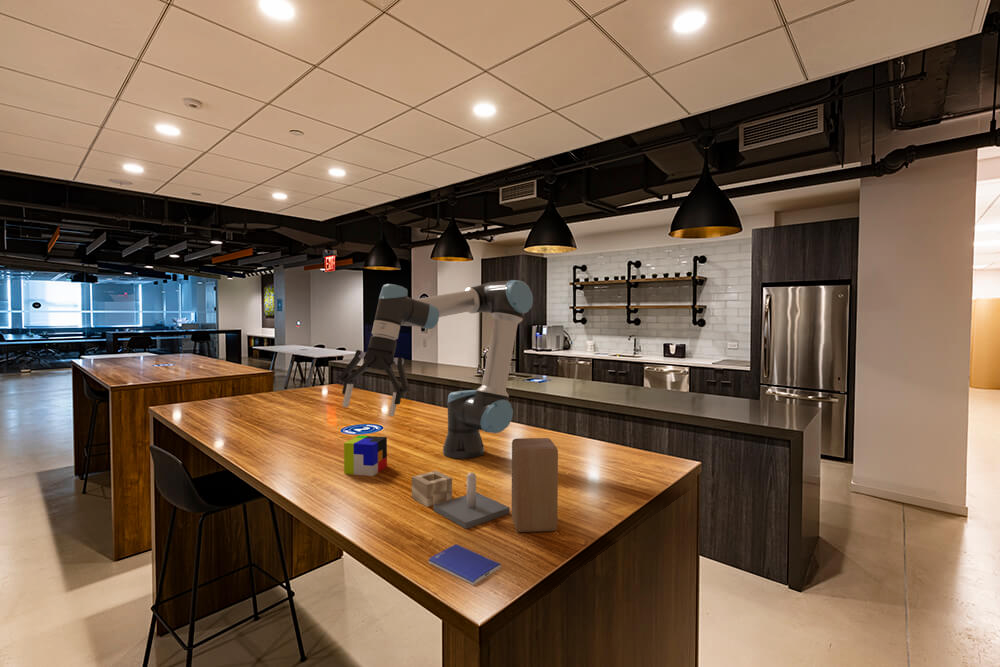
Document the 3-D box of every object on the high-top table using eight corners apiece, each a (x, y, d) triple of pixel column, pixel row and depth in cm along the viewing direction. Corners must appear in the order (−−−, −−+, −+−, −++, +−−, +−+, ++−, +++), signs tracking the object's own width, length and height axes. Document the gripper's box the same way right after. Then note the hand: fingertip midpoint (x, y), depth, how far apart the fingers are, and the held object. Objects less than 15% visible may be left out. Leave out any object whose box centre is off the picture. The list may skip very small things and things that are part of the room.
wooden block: (511, 515, 119) (511, 437, 119) (550, 514, 120) (550, 436, 120) (515, 534, 109) (516, 448, 109) (558, 532, 110) (558, 447, 110)
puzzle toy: (373, 476, 149) (372, 444, 149) (344, 474, 151) (344, 443, 151) (386, 466, 159) (386, 437, 158) (359, 464, 161) (359, 435, 160)
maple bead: (436, 491, 136) (436, 470, 136) (452, 499, 130) (452, 477, 130) (411, 498, 131) (411, 476, 130) (427, 507, 125) (427, 484, 124)
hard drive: (428, 558, 96) (473, 580, 88) (456, 543, 103) (500, 562, 95) (428, 565, 96) (473, 588, 88) (456, 550, 103) (500, 570, 95)
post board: (476, 497, 132) (476, 461, 131) (509, 513, 121) (509, 473, 121) (433, 510, 122) (433, 471, 122) (465, 529, 112) (465, 486, 111)
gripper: (337, 328, 133) (320, 403, 130) (422, 343, 131) (407, 419, 128) (348, 332, 141) (332, 403, 138) (429, 346, 138) (414, 419, 135)
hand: (368, 411), depth 133 cm, fingers open, 13 cm apart
